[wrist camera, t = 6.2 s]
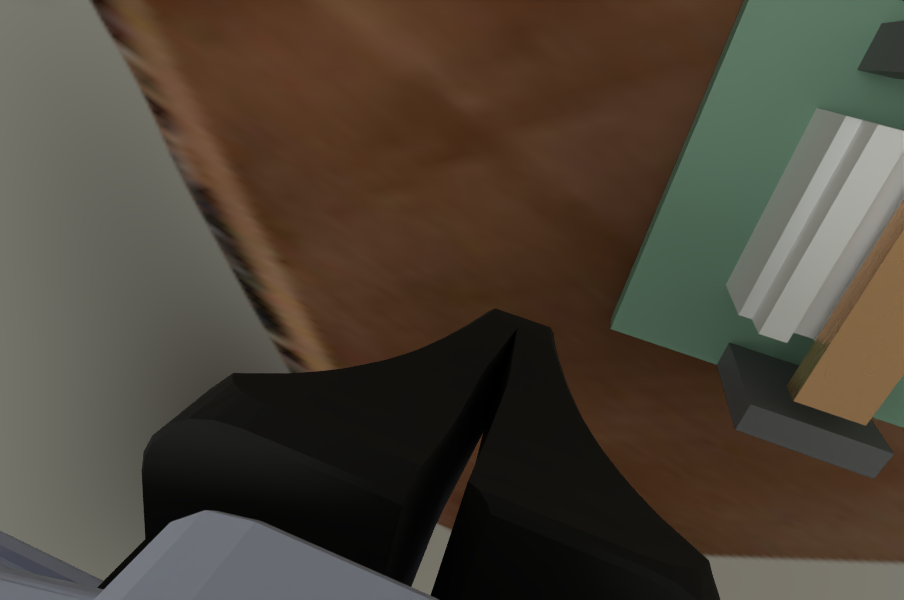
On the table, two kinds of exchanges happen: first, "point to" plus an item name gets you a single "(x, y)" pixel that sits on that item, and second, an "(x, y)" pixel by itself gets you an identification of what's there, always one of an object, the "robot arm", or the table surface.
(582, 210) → the table surface
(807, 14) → the board
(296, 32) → the table surface
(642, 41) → the table surface
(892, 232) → the strap
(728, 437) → the table surface
